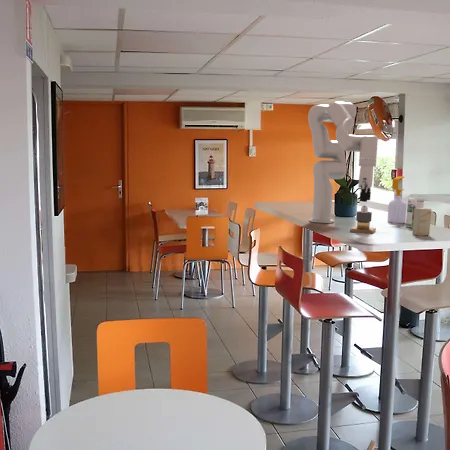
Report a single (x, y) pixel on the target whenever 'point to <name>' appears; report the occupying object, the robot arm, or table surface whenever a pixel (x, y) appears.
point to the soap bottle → (397, 205)
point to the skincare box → (421, 221)
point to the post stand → (363, 224)
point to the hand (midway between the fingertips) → (364, 200)
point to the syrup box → (412, 210)
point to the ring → (363, 216)
